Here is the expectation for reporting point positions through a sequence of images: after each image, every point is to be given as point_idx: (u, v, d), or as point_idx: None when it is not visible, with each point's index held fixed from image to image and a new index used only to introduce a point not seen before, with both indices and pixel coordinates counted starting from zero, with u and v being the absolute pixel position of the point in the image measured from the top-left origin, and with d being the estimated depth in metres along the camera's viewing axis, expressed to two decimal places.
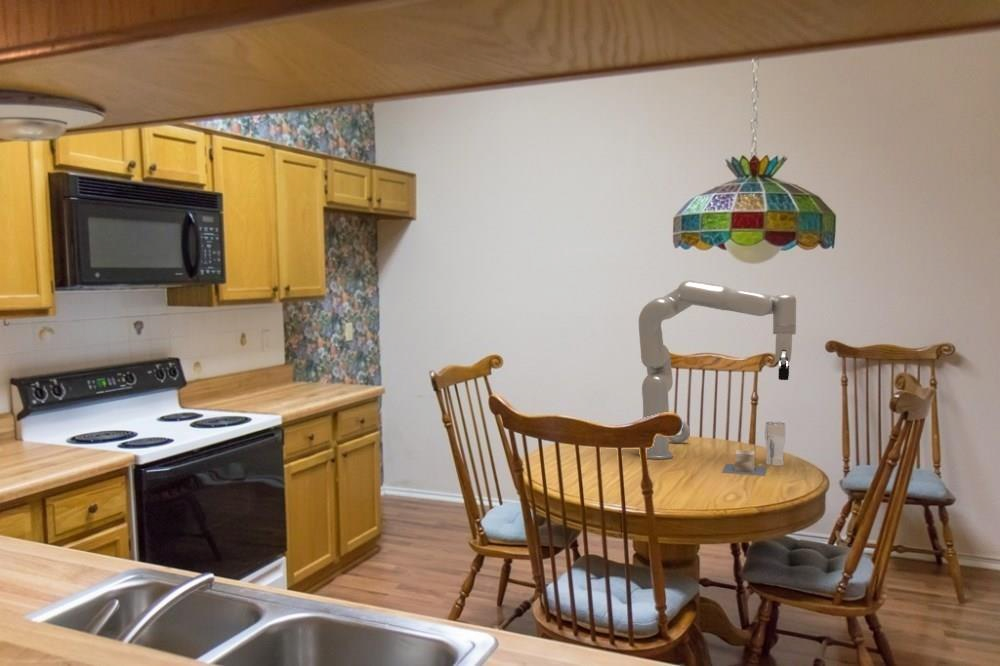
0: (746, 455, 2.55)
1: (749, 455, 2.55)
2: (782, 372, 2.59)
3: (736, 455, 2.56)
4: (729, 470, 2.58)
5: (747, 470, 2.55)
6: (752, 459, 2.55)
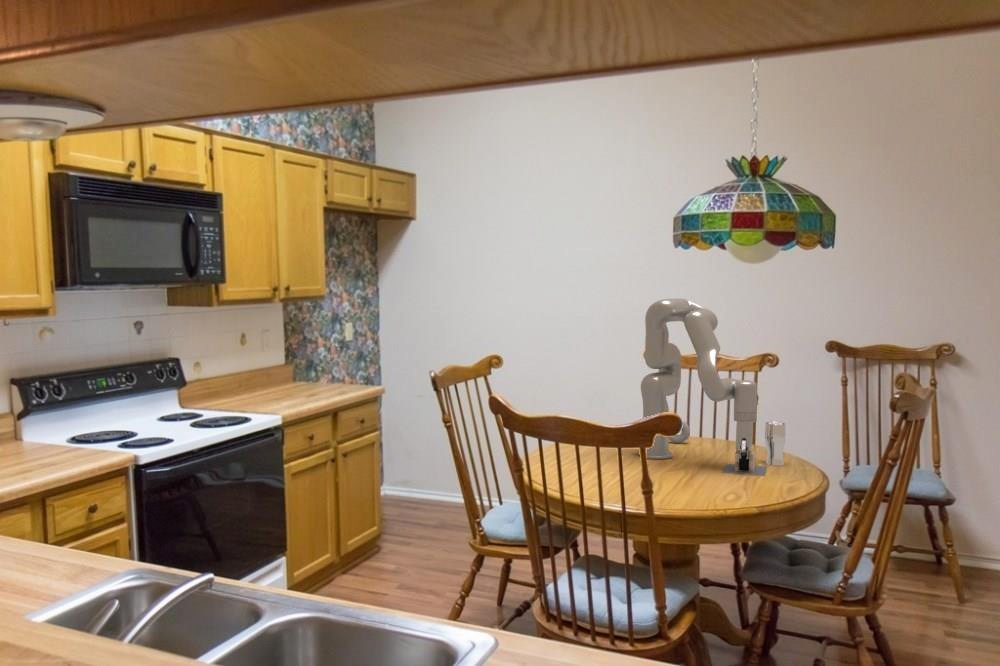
0: None
1: (749, 455, 2.55)
2: (742, 463, 2.55)
3: (736, 455, 2.56)
4: (729, 470, 2.58)
5: None
6: (752, 459, 2.55)
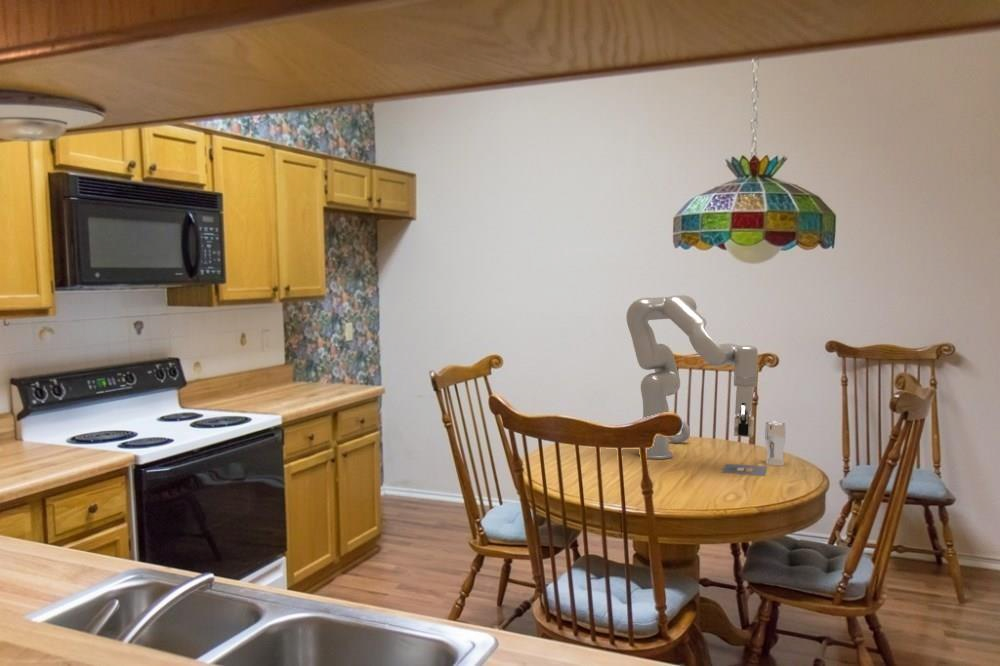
0: None
1: (748, 420, 2.54)
2: (742, 428, 2.54)
3: (735, 420, 2.56)
4: (729, 470, 2.58)
5: None
6: (751, 424, 2.54)
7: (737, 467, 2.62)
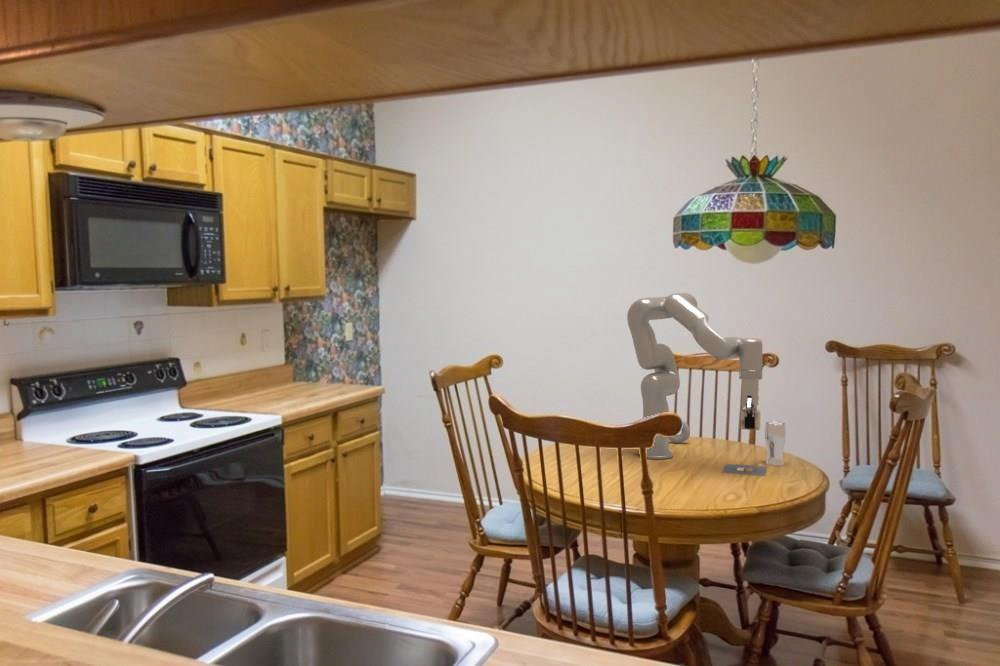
0: None
1: (755, 413, 2.53)
2: (748, 421, 2.53)
3: (742, 413, 2.55)
4: (729, 470, 2.58)
5: None
6: (758, 417, 2.53)
7: (737, 467, 2.62)
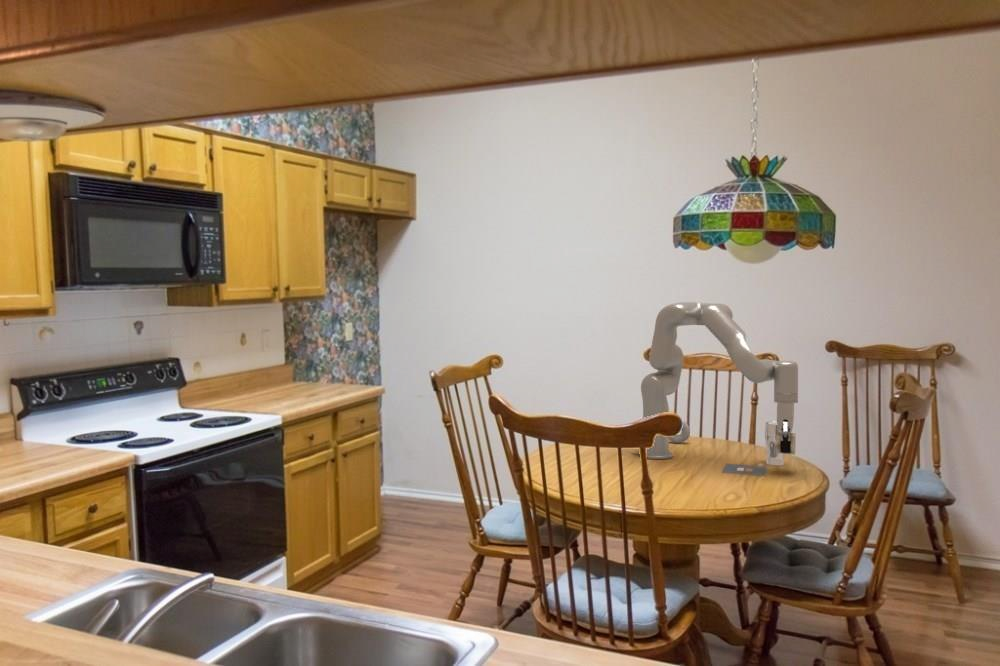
0: None
1: (791, 437, 2.49)
2: (784, 445, 2.49)
3: (777, 437, 2.51)
4: (729, 470, 2.58)
5: None
6: (794, 441, 2.49)
7: (737, 467, 2.62)
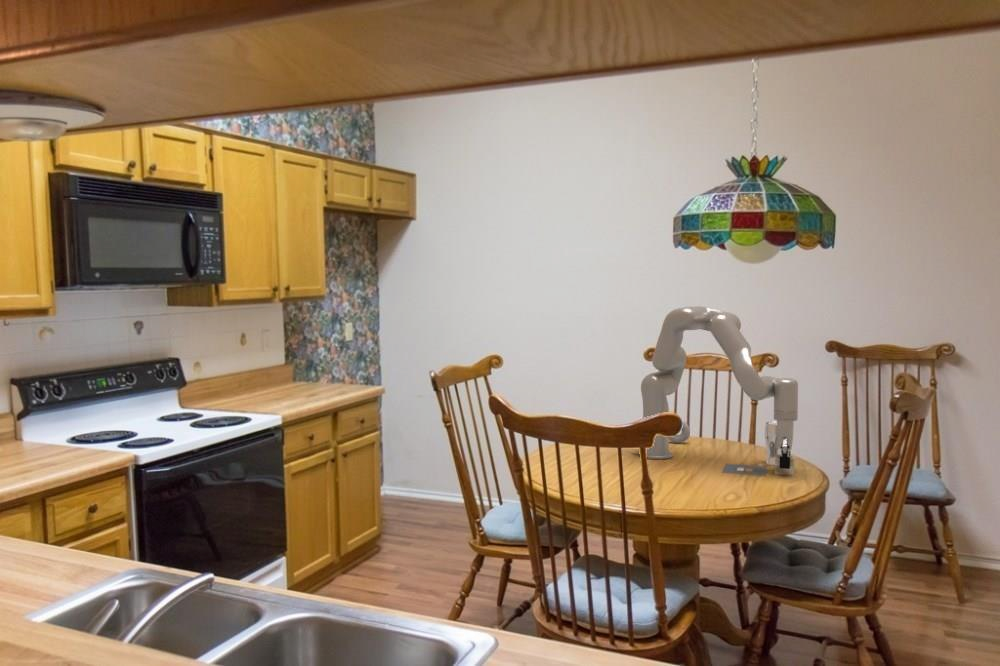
0: None
1: (790, 460, 2.50)
2: (783, 461, 2.48)
3: (776, 460, 2.52)
4: (729, 470, 2.58)
5: None
6: (793, 464, 2.50)
7: (737, 467, 2.62)
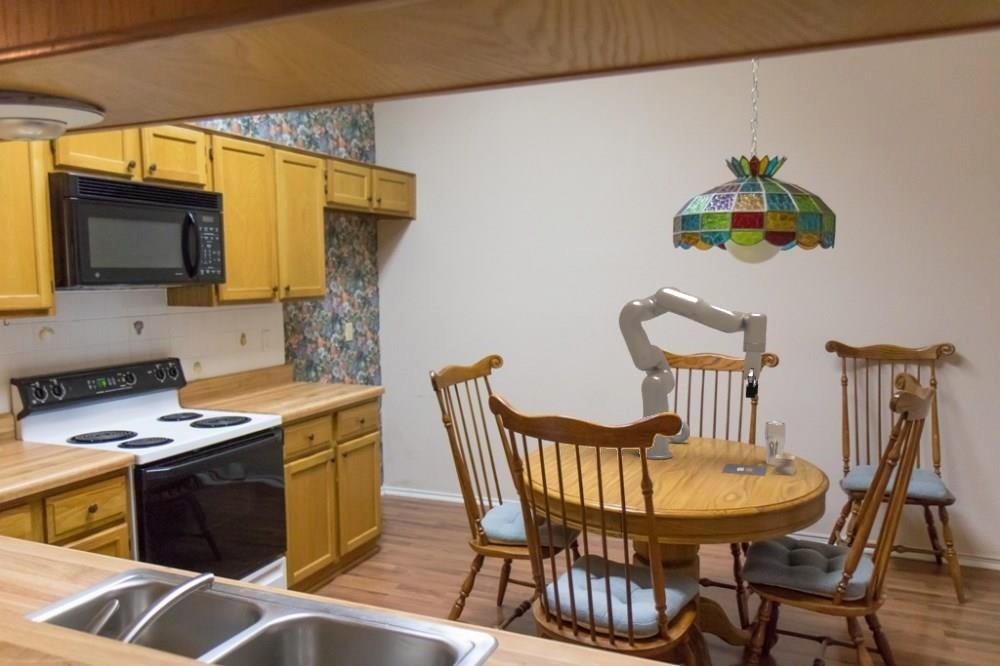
0: (787, 460, 2.50)
1: (790, 460, 2.50)
2: (749, 390, 2.60)
3: (776, 460, 2.52)
4: (729, 470, 2.58)
5: None
6: (793, 464, 2.50)
7: (737, 467, 2.62)
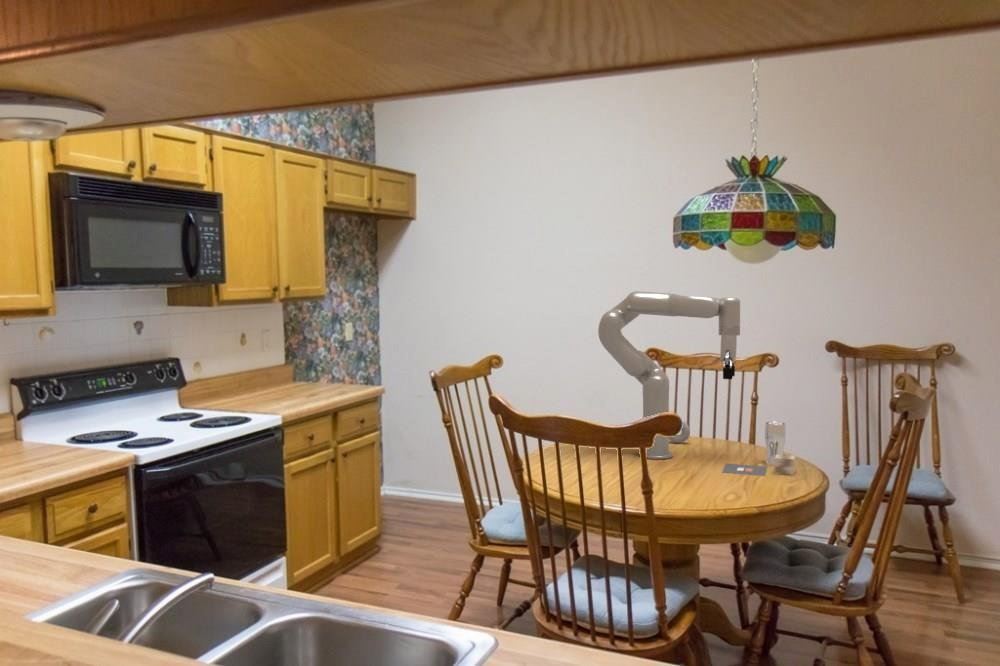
0: (786, 460, 2.50)
1: (790, 460, 2.50)
2: (726, 372, 2.70)
3: (776, 460, 2.52)
4: (729, 470, 2.58)
5: None
6: (793, 464, 2.50)
7: (737, 467, 2.62)
